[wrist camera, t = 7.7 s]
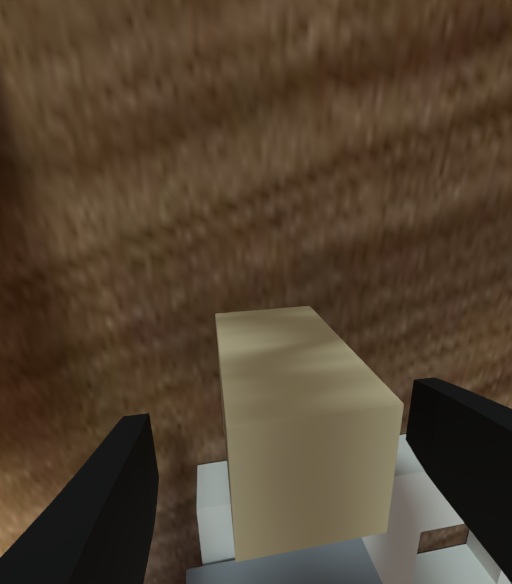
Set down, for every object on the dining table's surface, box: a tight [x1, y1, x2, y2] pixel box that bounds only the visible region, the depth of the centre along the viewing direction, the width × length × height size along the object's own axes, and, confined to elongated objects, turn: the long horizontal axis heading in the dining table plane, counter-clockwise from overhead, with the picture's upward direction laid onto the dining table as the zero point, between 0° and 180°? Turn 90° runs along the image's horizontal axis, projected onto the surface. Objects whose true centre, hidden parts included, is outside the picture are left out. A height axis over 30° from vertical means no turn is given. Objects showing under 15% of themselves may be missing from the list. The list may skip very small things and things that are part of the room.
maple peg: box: [215, 306, 404, 562], centre depth 9 cm, size 4×4×6 cm
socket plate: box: [196, 434, 511, 584], centre depth 15 cm, size 18×12×2 cm, turn 92°
